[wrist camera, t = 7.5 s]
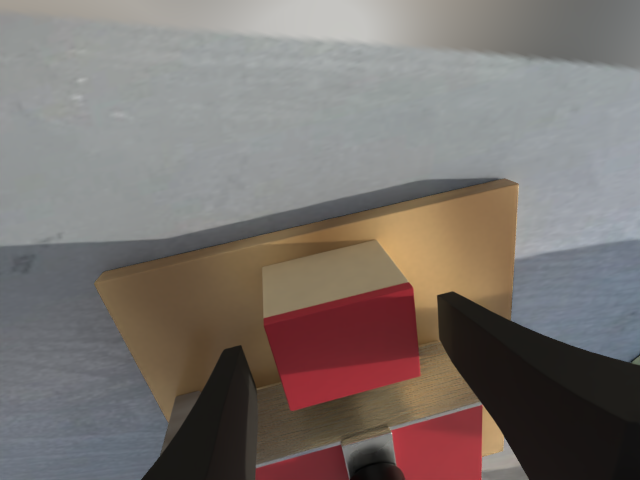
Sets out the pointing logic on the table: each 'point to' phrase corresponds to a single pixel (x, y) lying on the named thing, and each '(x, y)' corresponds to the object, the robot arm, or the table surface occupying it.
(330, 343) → the cake slice
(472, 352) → the robot arm
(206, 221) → the table surface
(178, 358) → the board
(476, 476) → the red and beige block
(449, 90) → the table surface
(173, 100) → the table surface
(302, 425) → the blade
